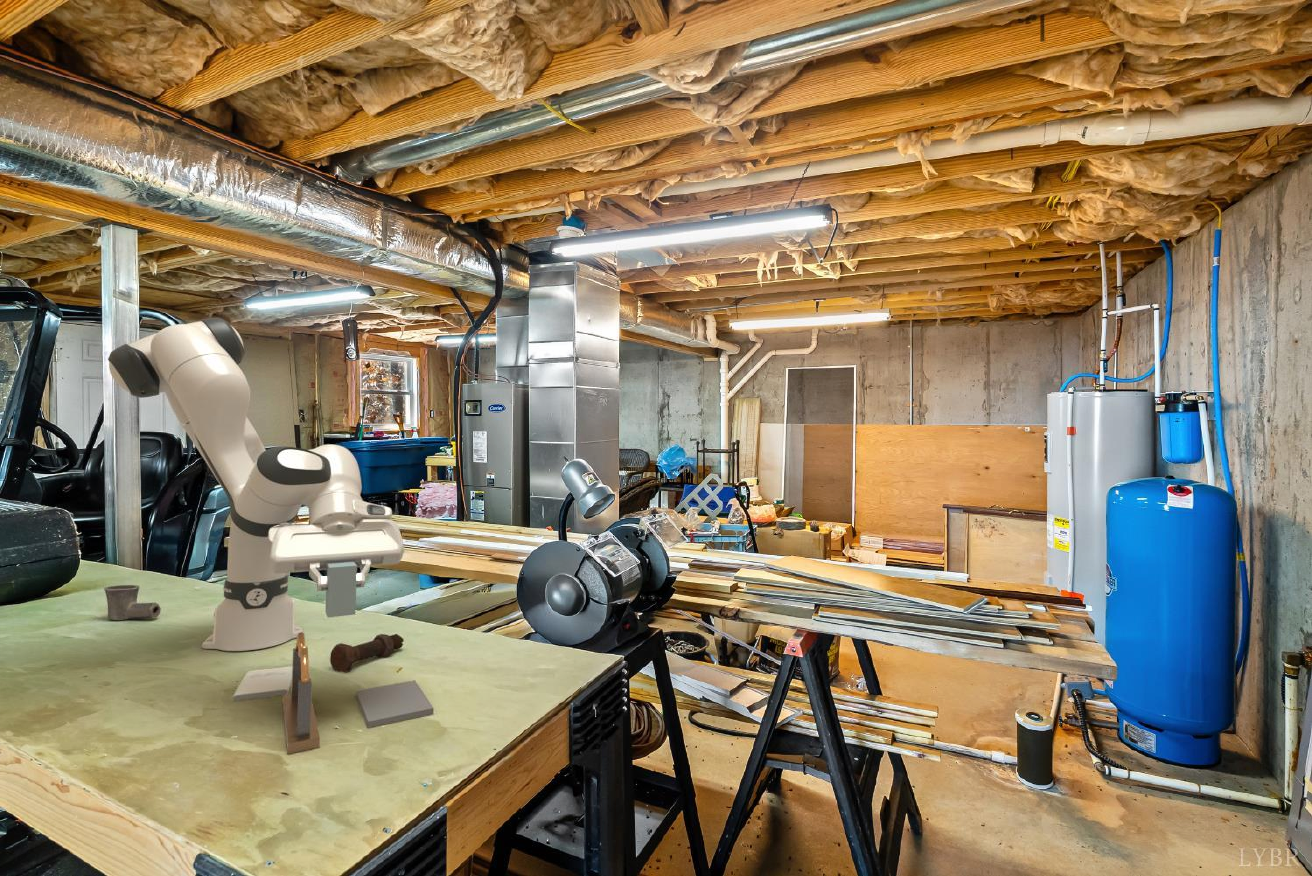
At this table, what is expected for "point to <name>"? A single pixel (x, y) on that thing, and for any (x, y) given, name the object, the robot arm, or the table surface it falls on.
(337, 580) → the block
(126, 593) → the pipe
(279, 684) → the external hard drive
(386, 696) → the pad
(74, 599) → the table surface
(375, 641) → the bolt
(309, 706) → the wire frame
